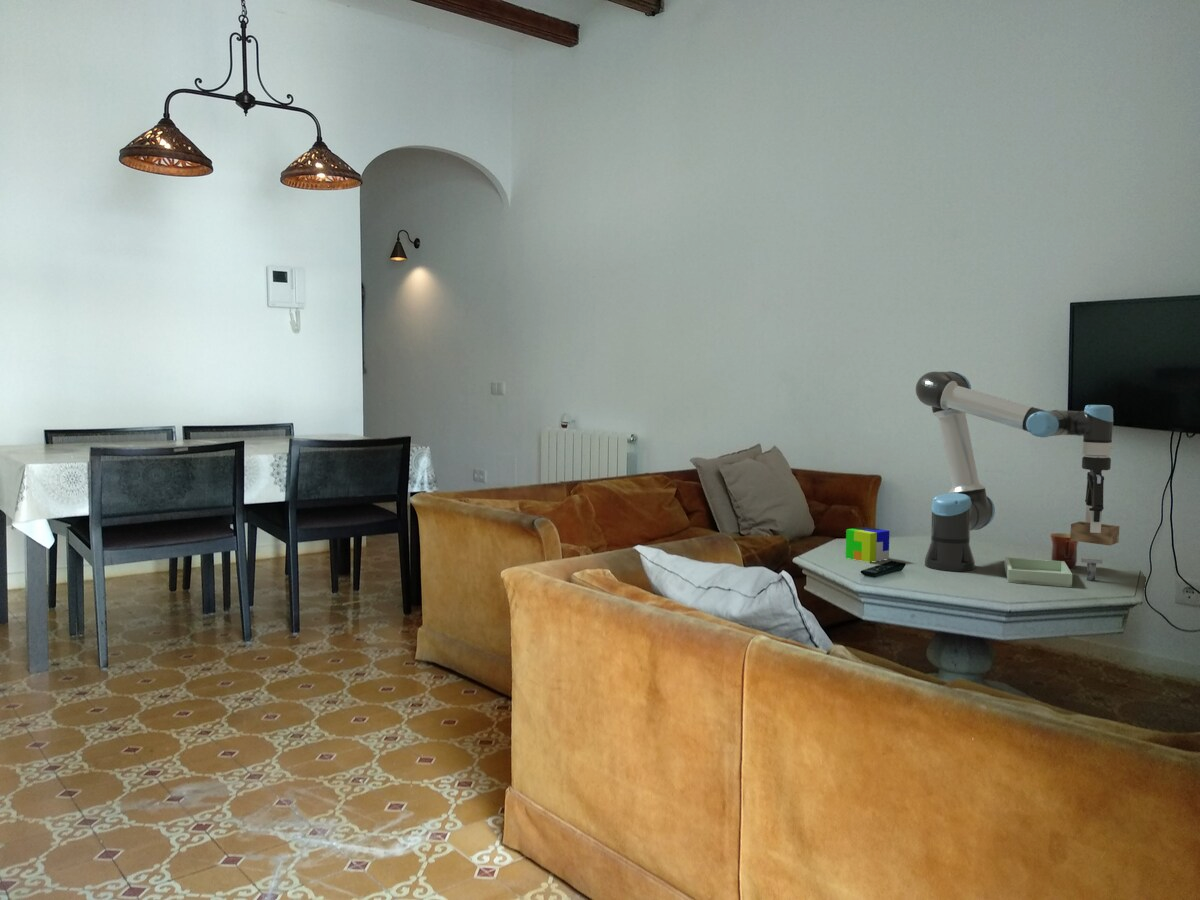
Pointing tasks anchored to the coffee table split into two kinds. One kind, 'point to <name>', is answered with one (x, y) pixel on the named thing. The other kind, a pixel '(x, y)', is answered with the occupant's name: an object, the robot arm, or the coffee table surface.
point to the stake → (1091, 567)
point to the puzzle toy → (867, 544)
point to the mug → (1064, 549)
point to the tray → (1038, 572)
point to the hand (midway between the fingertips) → (1092, 529)
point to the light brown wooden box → (1094, 534)
